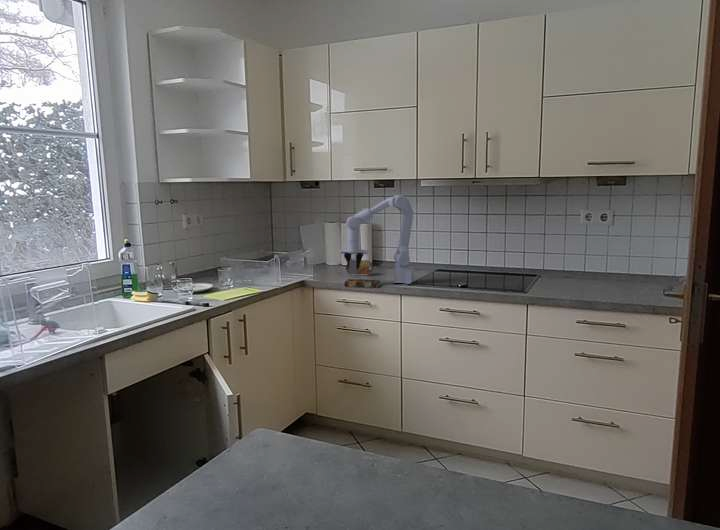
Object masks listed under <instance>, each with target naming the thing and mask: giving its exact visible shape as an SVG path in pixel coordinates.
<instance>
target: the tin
mask: <svg viewBox="0 0 720 530" xmlns="http://www.w3.org/2000/svg"><path fill="white" fill-rule="evenodd" d="M345 270H346V272H347V273H348V275H350V269H349V267H348V264H347V263H346V266H345ZM373 272H374V264H373V263H372V262H371V261H370V260H365V259H364V260H363V259H361V262H360V267H359V273H358V274H368V275H367V276H370V275H371V274H372V273H373Z"/></svg>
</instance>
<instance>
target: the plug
mask: <svg viewBox="0 0 720 530" xmlns="http://www.w3.org/2000/svg"><path fill="white" fill-rule="evenodd" d="M349 268H350V274H358V273H359V269H357V260H356V257H355V258H354V257H353V258H352V257H351V260H349ZM350 274H349V275H350Z"/></svg>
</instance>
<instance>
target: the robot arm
mask: <svg viewBox="0 0 720 530" xmlns="http://www.w3.org/2000/svg"><path fill="white" fill-rule="evenodd" d="M387 208H396V209H397V210H399V211H400V213H401V214H402V218H401V225H400V233H399V239H398V246H397V248H396V251H395V253H394V254H393V259H394V261H395V263H394V281H395V282H396V283H412V282H413V283H414V282H415V275H414V274H415V268H414V266H413V265H410V262H411V261H410V260H411V259H410V250H409V249H410V248H409V246H410V240H411V239H410V238H411V231H412V224H413V218H414V209H413V208H412V205H411V203H410V200H409V199H408V198H407V197H406V196H405V195H403V194H402V195H401V194H394V195H393V196H389V197H388V198H385V199H384V200H383V201H381V202H379V203H378V204H376V205H375V206H373V207H371V208H368V207H367V208H364V207H363V208H362V209H361V210H360V211H359V212H358V213H354V214H353V216H349V217H348V218H347V219H346V222H345V224H346V226H347V229H346V230H347V232H346V233H347V234H346V236H347V238H346V239H347V249H346V248H345V249H339V250H338V253H339V254H340V255H341V254H344V255H343V257H344V259H345V261H346V265H347V264H348V267H349V260H351V259H352V255H355V258H356V260H357V269H359V267H360V262H361V260H363V257H364V255H369V249H360V231H359V227H360V226H361V225H364V223H367V222H368V221H371V220H372V219H373V217H374V215H376V214H378V213H379V212H382V211H384V210H385V209H387ZM349 269H350V268H349ZM413 283H412V284H413Z"/></svg>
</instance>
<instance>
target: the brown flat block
mask: <svg viewBox="0 0 720 530" xmlns="http://www.w3.org/2000/svg"><path fill="white" fill-rule="evenodd" d="M379 283H380V279H362V278H361V279H359V278H348V279H347V280H345V281H344V287H345V288H347V287H348V288H368V289H371V288H372V289H376V286H377V285H378V284H379Z"/></svg>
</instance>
